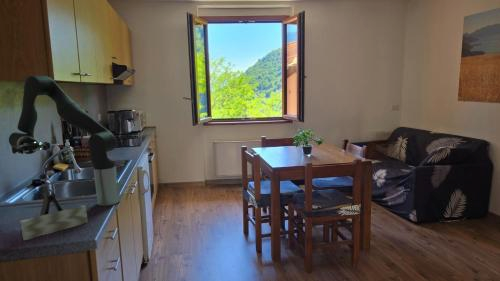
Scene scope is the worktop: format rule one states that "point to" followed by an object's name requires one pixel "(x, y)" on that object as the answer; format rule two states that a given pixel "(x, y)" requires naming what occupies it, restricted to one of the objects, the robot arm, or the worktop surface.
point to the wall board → (53, 222)
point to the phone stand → (47, 202)
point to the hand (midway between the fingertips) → (33, 149)
